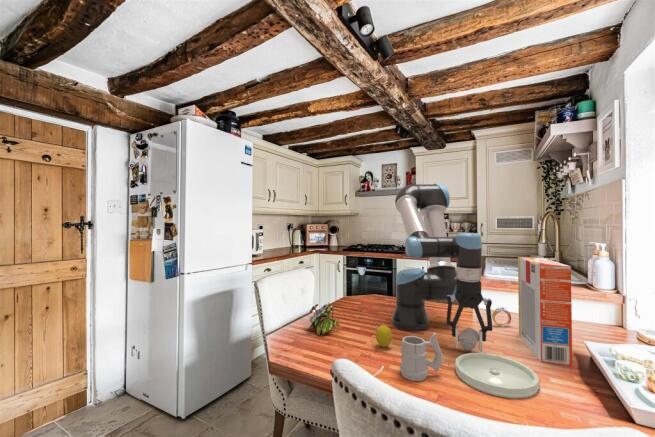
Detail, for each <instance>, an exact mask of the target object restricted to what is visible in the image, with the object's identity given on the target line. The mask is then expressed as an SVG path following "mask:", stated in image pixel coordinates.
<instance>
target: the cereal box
mask: <svg viewBox="0 0 655 437" xmlns="http://www.w3.org/2000/svg"><path fill="white" fill-rule="evenodd" d="M517 273H518V274H517V277H518V278H517V279H518V280H517V284H518V288H517V289H518V336H519V337H520V338H521V339H522V341H523V342H524V343H525V345H527V347H528V348H529V349H530V350H531V352H532V353H533V355H534V356H536V358H537V360H539V362H540V363H544V364H545V363H547V364H553V365H554V364H555V365H561V366H563V365H564V366H570V367H572V366H573V326H572V325H573V321H572V320H573V318H572V317H573V316H572V314H573V312H572V311H573V310H572V308H573V307H572V304H573V303H572V266H571V265H568V264H564V263H560V262H558V261H554V260H551V259H548V258H544V257H532V256H531V257H527V256H523V257H522V256H517Z"/></svg>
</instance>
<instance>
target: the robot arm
mask: <svg viewBox="0 0 655 437" xmlns="http://www.w3.org/2000/svg"><path fill="white" fill-rule="evenodd" d="M450 199H451V197H450V193H449V189H448V188H447V187H446V185H444V184H440V183H433V184H430V183H428V184H425V183H424V184H423V183H419V184H417V183H416V184H415V183H413V184H408V185H406V186H403V187H402V188H401V189H400V190H399V191H398V192H397V194H396V196H395V199H394V204H395V208H396V210H397V211H398V212H399V213H400V217H401V219H402V222H403V225H404V229H405V232H406V235H407V237H406V239H405V240H404V241H405V242H404V248H405V254H406V256H407V257H409V258H419V259H420V258H428V259H429V266H428V267H427V268H426V271H425V269H423V268H419V267H418V268H405V269H401V270H399V271H398V272H397V273H396V275H395V276H396V277H395V278H396V279H395V287H396V288H395V290H396V291H395V292H396V293H395V298H396V299H395V300H396V304H395V305H396V306H395V308H394V311H393V315H392V319H391V323H392V325H393V327H395V328H398V329H400V330H403V331H412V332H418V331H419V332H420V331H424V330H428V329H429V328H430V318H429V316H428V313H427V310H426V306H425V305H426V304H425V301H446V302H447V311H446V312H447V313H446V320H445V324H446V326H450V327H451V336H452V338H453V337H454V338H455V348H456V349H459V341H458V336H459V325H457V324H458V322H459V320H460V317H461V315H462V312H463V310H464V309H465V308H467V309H472V310H473V309H474V312H475V315H476V318H477V321H478V323H479V326H480V328H479V329H478V333H479V341H478V349H479V353H483V342H486V341H487V332H489V331H490V332H491V331H493V319H492V309H491V307H492V305H493V301H492V299H491V298H486V297H483V294H482V281H481V280H482V250H483V248H482V247H483V244H482V236H481V234H479V233H474V232H461V233H460V232H459V233H457V234H456V235H455V236H454V235H450V236H448V235H447V230H446V229H447V228H446V221H445V215H444V213H446V211H447V209H448V208H449V206H450V203H451V200H450ZM420 214H421V215H422V216H424V221H423V219H422V216H421V215H420ZM451 258H454V259H455V260H456V267H455V265H453V264H452V262H451ZM455 301H457V302H458V303H459V305H458V307H457V310H456V312H455V314H454V317H453V319H451V318H452V309H453V303H454V302H455ZM482 302H483V305H484V306H485V314H486V322H487V325H485V322H484V319H483V317H482V314H481V312H480V309H479V308H480V307H479V305H480V304H481V303H482Z"/></svg>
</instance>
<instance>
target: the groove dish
mask: <svg viewBox="0 0 655 437" xmlns="http://www.w3.org/2000/svg"><path fill="white" fill-rule="evenodd" d="M455 373H456V376H457V377H458V378H459V379H460V380H461V381H462V382H464V383H465V384H466V385H468V386H469V387H471V388H474V389H476V390H478V391H479V392H483V393H485V394H488V395H491V396H495V397H496V396H497V397H500V398H505V399H515V400H516V399H518V400H519V399H527V398H531V397H533V396H535V395H537V394H538V392H539V385H540V379H539V377H538V374H537V372H535V371H534V370H533V369H531V368H530V367H529V366H528V365H526V364H524V363H521V362H520V361H517V360H515V359H513V358H509V357H506V356H502V355H499V354H493V353H487V352H468V353H464V354H460V355H459V356H458V357H457V358H455Z"/></svg>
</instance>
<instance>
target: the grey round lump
mask: <svg viewBox="0 0 655 437" xmlns="http://www.w3.org/2000/svg"><path fill="white" fill-rule="evenodd" d="M458 343H459V344H460V347H461V348H463V349H464V350H466V351H472V350H474V349H475V348H476V347H477V344H479V331H477V330H475V329H474V328H473V327H466V328H465V329H463V330H462V331H461V332H460V333H458Z"/></svg>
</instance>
